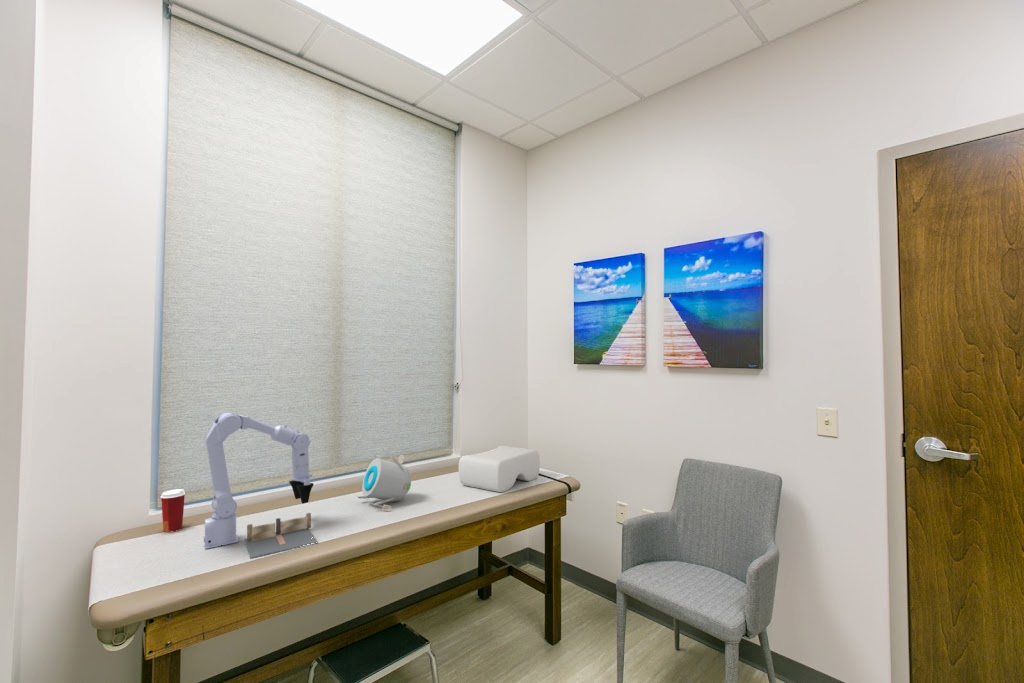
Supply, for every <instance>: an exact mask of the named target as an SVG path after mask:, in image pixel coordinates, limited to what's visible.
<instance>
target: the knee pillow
mask: <svg viewBox="0 0 1024 683" xmlns="http://www.w3.org/2000/svg"><path fill="white" fill-rule="evenodd" d="M540 461H541V460H540V454H539V451H538V450H537V449H532V448H524V447H523V448H522V447H515V446H506V445H498V446H497V447H496V448H494V449H491V450H488V451H487V450H486V451H483V452H479V453H478V452H477V453H472V454H467V455H462V456H461V457H460V459H459V461H458V479H459V482H460V484H461V485H463V486H466V487H470V488H477V489H482V490H486V491H491V492H496V493H505V492H507V491H509V490H510V489H512V488H513V486H514V484H515V483H516V480H518V481H519V480H520V481H525V482H526V481H528V482H531V481H534V480H536V479H537V478H538V476H539V474H540V468H541V467H540V466H541V465H540V463H541V462H540Z"/></svg>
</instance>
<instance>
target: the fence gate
mask: <svg viewBox="0 0 1024 683" xmlns="http://www.w3.org/2000/svg"><path fill="white" fill-rule="evenodd" d="M311 527H312V514H311V512H307V513H306V514H305V516H301V517H296V518H291V519H286V520H281V517H278V518H275V532H276V534H277V535H278V534H280V533H281V534H282V533H287V532H292V531H296V530H301V529H306V528H309V529H311Z"/></svg>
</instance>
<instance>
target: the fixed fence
mask: <svg viewBox="0 0 1024 683" xmlns="http://www.w3.org/2000/svg"><path fill="white" fill-rule="evenodd" d="M275 532H276V522H271V523H266V524H261V525H257V526H255V525H254V526H253V523H252V524H251V523H250V524H247V525H246V538H247V542H250V541H253V540H258V539H263V538H267V537H272V536H275Z"/></svg>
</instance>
